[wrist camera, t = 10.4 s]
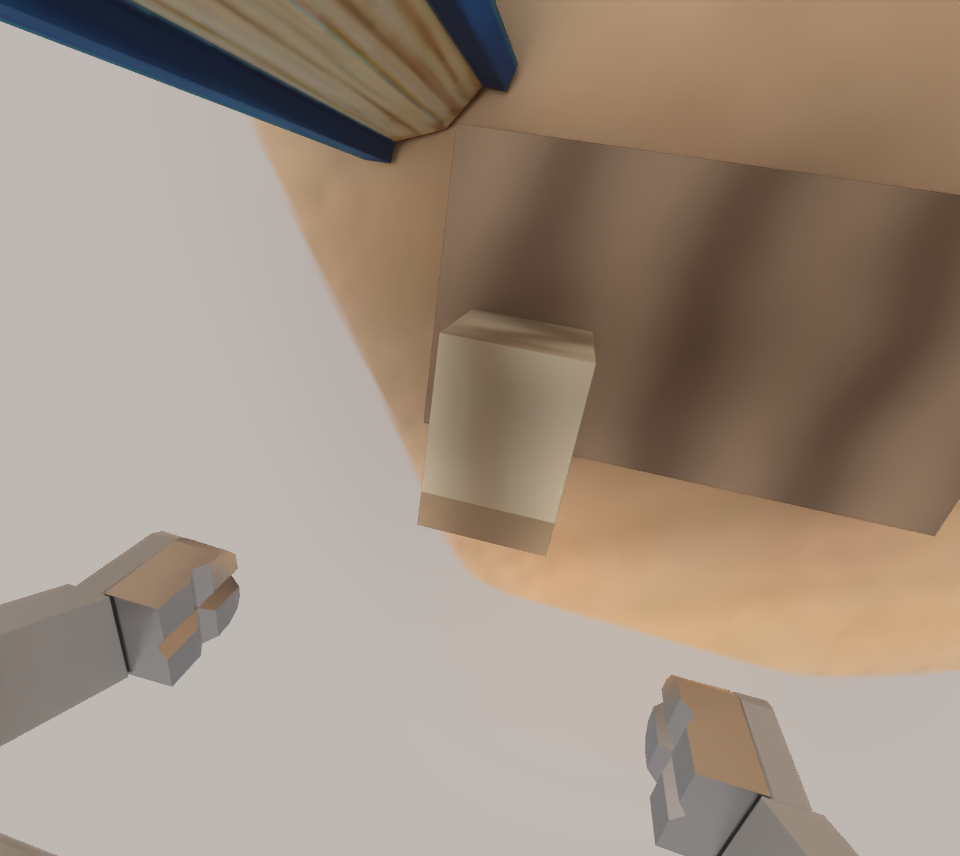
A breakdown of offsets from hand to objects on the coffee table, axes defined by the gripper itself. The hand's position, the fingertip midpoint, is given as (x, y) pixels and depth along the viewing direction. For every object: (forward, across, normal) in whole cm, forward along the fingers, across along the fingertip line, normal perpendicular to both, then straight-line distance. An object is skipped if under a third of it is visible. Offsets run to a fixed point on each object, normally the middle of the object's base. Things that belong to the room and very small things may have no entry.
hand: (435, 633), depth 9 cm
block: (+16, 0, 0) cm, 16 cm away
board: (+16, -7, -4) cm, 18 cm away
